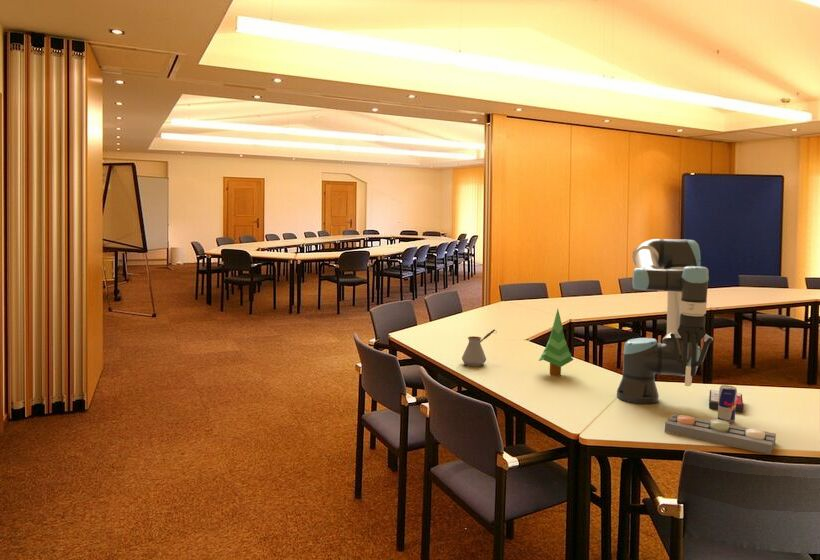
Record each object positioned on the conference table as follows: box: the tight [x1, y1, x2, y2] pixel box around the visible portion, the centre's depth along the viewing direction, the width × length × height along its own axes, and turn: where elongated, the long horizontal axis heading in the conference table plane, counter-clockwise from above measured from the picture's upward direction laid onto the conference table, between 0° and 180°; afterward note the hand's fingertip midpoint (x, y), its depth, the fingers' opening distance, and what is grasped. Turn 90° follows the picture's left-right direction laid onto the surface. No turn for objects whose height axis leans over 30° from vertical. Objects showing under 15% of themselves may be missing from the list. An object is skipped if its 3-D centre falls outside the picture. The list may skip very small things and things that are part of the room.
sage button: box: [710, 419, 730, 433], centre depth 191 cm, size 5×5×3 cm
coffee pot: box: [461, 328, 498, 367], centre depth 284 cm, size 21×12×15 cm, turn 134°
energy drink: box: [717, 384, 738, 424], centre depth 207 cm, size 5×5×12 cm
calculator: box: [708, 389, 744, 414], centre depth 225 cm, size 11×4×15 cm
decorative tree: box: [538, 308, 574, 377], centre depth 263 cm, size 14×16×30 cm
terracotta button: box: [677, 414, 696, 426], centre depth 197 cm, size 5×5×3 cm
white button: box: [745, 428, 766, 440], centre depth 185 cm, size 5×5×3 cm
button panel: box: [664, 413, 777, 455], centre depth 192 cm, size 30×12×3 cm, turn 53°
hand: (688, 384), depth 196 cm, fingers closed
